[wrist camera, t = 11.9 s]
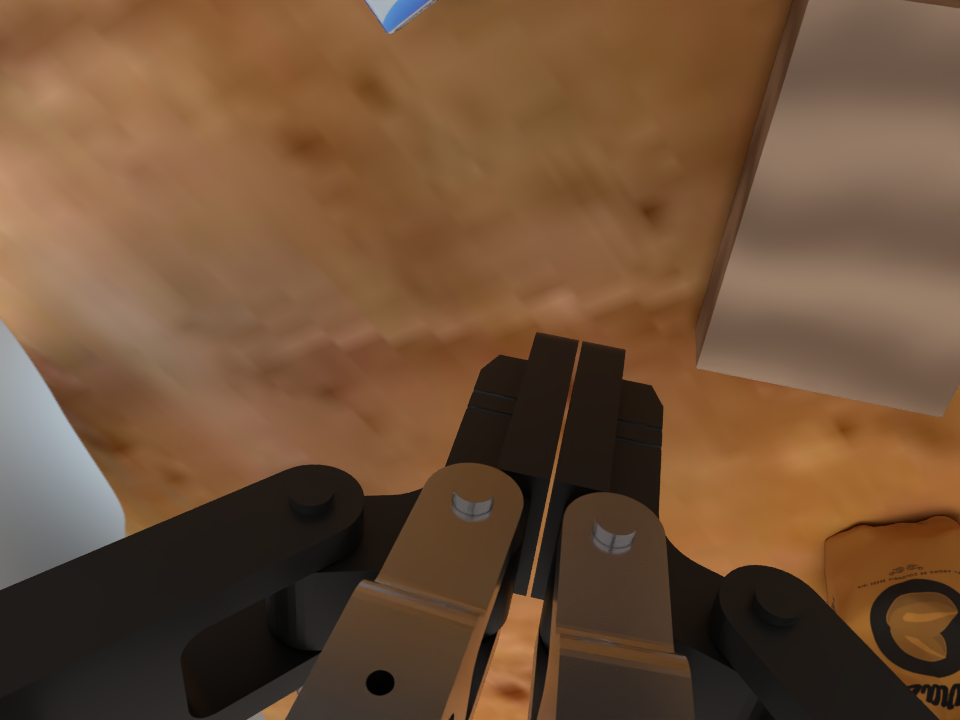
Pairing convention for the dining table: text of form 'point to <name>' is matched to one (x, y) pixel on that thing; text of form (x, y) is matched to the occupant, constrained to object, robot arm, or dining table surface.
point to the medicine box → (397, 12)
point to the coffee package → (904, 602)
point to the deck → (848, 212)
